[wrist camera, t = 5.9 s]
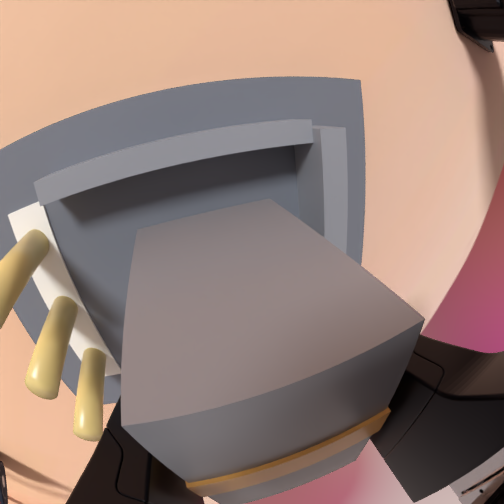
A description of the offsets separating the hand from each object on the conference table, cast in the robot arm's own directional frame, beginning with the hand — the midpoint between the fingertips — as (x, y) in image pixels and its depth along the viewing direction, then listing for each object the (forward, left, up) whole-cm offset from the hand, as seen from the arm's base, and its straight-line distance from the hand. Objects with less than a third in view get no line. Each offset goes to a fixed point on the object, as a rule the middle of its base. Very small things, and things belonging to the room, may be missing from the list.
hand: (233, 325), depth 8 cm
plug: (0, 0, -2) cm, 2 cm away
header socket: (0, 0, -5) cm, 5 cm away
